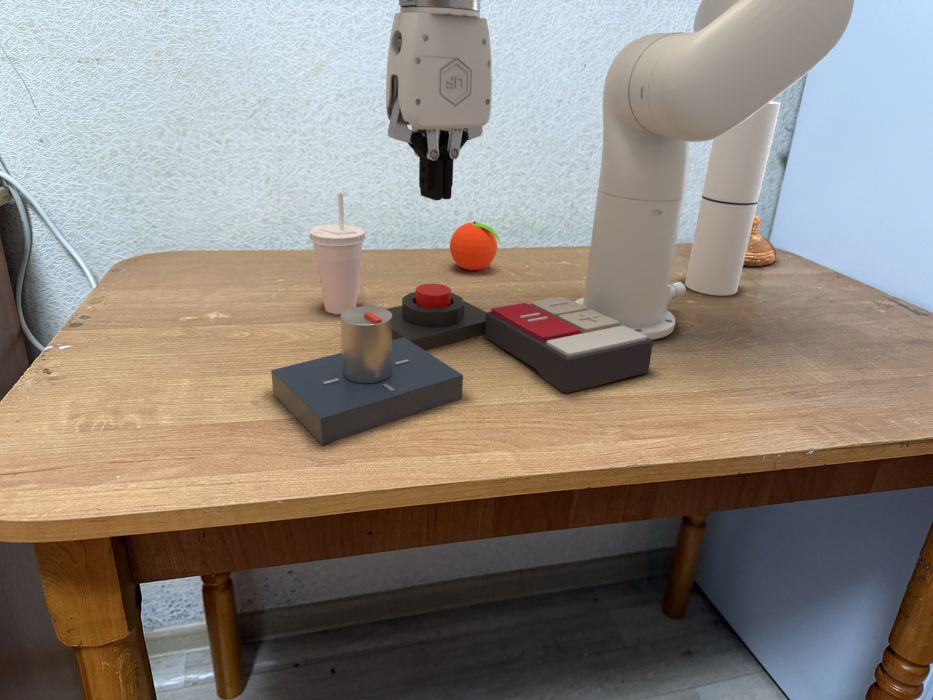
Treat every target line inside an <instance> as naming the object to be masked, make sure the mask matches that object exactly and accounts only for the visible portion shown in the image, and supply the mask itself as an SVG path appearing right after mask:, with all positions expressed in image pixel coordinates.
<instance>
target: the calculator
mask: <svg viewBox="0 0 933 700" xmlns="http://www.w3.org/2000/svg"><path fill="white" fill-rule="evenodd" d="M486 312H487V313H486V321H485V335H484V337H485V339H487V340H489V341H490V342H491V343H493V344H495V345H496V346H498V347H499V348H501V349H503V350H505V351H506V352H508V353H509V354H510V355H513V356H514V357H516V358H517V359H519V360H521V361H522V362H524V363H525V364H527V365H529V366H530V367H532V368H533V369H534V370H536V371H537V373H538V374H539V376H540V378H541V380H543V381H544V382H546V383H547V384H550V385H551V386H552V387H554V388H555V389H557V390H559V391H560V392H562V393H565V394H568V393H572V392H576V391H580V390H585V389H588V388H592V387H595V386H600V385H604V384H609V383H612V382H616V381H620V380H623V379H628V378H631V377H637V376H641V375H644V374H647V373H649V371H650V367H651V366H650V365H651V358H652V352H653V345H654V344H653V343H654V340H652V339H650V338H647V336H646V335H644V334H642V333H639V332H637V331H635V330H633V329H631V328H628V327H626V326H621V325H619V321H617V320H614V319H612V318H610V317H608V316H605V315H603V314H601V313H599V312H596V311H594V310H587V307H585V306H583V305H581V304H578V303H576V302H574V301H573V300H571V299H569V298H568V297H564V296H558V297H552V298H546V299H540V300H534V301H533V300H532V301H531V302H530V303H527V302H522V303H515V304H509V305H503V306H497V307H492V308H491V311H486Z"/></svg>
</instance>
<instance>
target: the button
mask: <svg viewBox="0 0 933 700" xmlns="http://www.w3.org/2000/svg"><path fill="white" fill-rule="evenodd" d="M414 292H415V304H417V305H418V306H421V307H426V308H443V307H448V306H450V305H451V293H452V288H451V287H449V286H448V285H445V284H443V283H423V284H419V285H417V286H416V287H415V291H414Z"/></svg>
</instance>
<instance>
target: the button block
mask: <svg viewBox="0 0 933 700" xmlns="http://www.w3.org/2000/svg"><path fill="white" fill-rule="evenodd" d="M385 309H386V310H388V311H390V312H391V314H392V340H395V339H399V338H403V337H404V338H406V339H408V340H409V341H411V342H412V343H414V344H415V345H417V346H419V347H420V348H422V349H423V350H425V351H429V350H432V349H436V348H440V347H443V346H448V345H451V344H455V343H459V342H462V341H466V340H470V339H473V338H477V337H482V336H485V321H486V313H487V312H488V311H485V310H484V309H481V308H480V307H477V306H476V305H473V304H471V303H469V302H467V301H466V300H464V299H463V297H462V296H460V295H457V294H456V293H453V292H451V305H450V306H448V307H443V308H426V307H421V306H418V305H417V304H415V291H414V292H409V293H407V294H406V295H404V296H402V297H401V305H398V306H393V307H388V308H385Z"/></svg>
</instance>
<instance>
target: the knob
mask: <svg viewBox="0 0 933 700" xmlns="http://www.w3.org/2000/svg"><path fill="white" fill-rule="evenodd" d="M386 309H387V308H383V307H379V306H373V305H361V306H356V307H354V308H350V309H348V310H345V311H344V312H343V313H342V314H340V331H341V333H340V334H341V335H340V336H341V353H342V362H343V375H344V376H345V377H346V378H347V379H349V380H351V381H354V382H358V383H375V382H380V381H383V380H385V379H387V378H389V377H390V376H391V374H392V314H391V312H390V311H388V310H386Z"/></svg>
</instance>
